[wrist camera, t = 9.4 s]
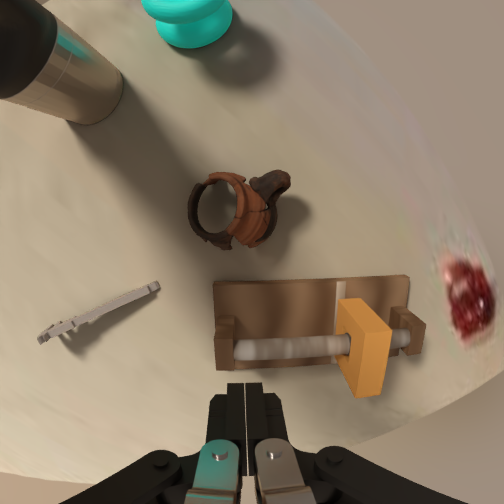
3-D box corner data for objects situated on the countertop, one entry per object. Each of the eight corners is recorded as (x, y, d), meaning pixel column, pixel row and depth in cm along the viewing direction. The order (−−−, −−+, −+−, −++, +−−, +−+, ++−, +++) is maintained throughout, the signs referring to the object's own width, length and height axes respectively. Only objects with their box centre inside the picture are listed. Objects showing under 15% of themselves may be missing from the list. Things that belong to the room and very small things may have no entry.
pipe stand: (219, 363, 43) (214, 398, 35) (213, 281, 40) (206, 305, 32) (394, 350, 43) (418, 379, 35) (404, 274, 41) (435, 293, 33)
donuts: (243, -40, 23) (208, 23, 25) (243, 2, 33) (216, 59, 35) (161, -50, 22) (122, 11, 24) (176, -10, 32) (147, 44, 34)
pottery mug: (243, 265, 41) (205, 267, 33) (208, 208, 43) (168, 199, 36) (318, 206, 36) (294, 193, 29) (274, 148, 39) (243, 126, 32)
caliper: (55, 330, 42) (34, 347, 36) (51, 324, 42) (31, 340, 36) (160, 286, 41) (147, 303, 35) (157, 279, 41) (143, 295, 34)
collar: (333, 354, 40) (355, 398, 30) (338, 299, 39) (365, 333, 29) (354, 352, 40) (380, 394, 30) (360, 297, 39) (392, 330, 29)
